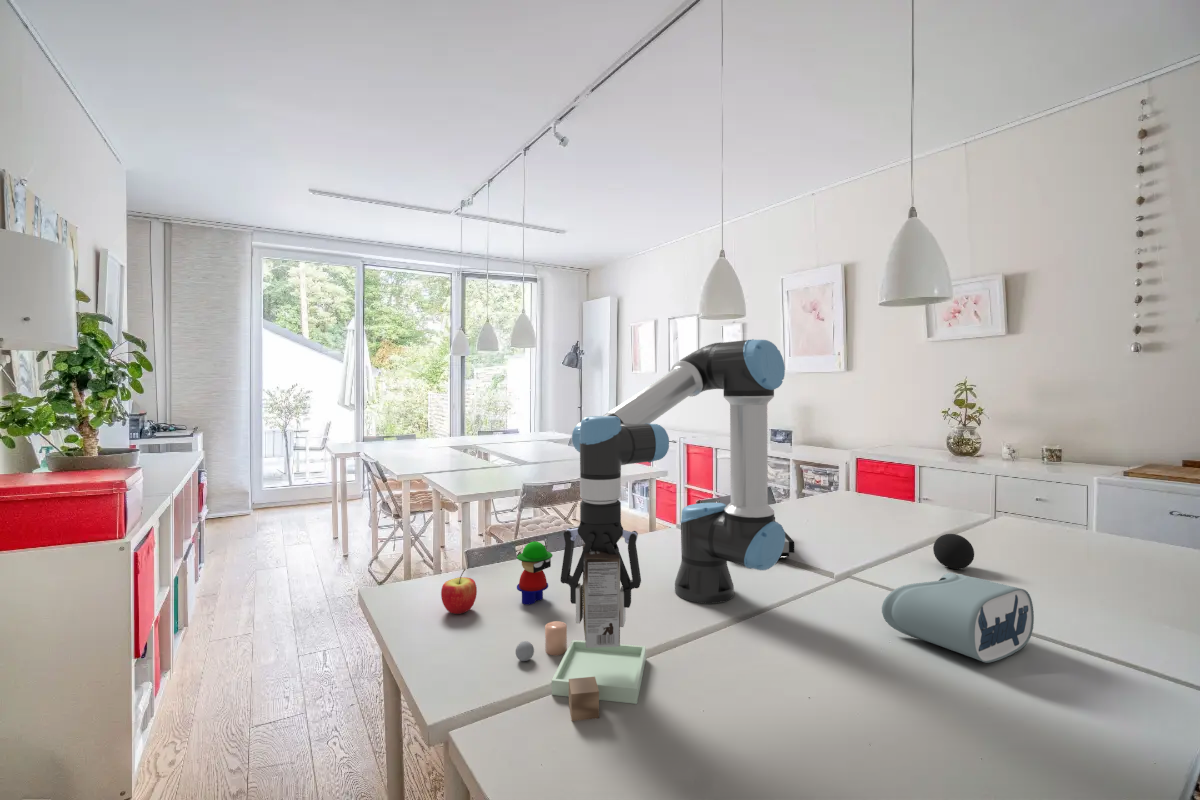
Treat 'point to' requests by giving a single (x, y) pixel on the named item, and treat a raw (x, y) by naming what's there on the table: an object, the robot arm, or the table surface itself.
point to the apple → (459, 594)
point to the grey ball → (524, 651)
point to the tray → (603, 670)
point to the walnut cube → (583, 698)
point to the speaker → (953, 551)
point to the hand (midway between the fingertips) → (600, 621)
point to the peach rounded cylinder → (556, 638)
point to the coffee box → (601, 599)
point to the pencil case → (963, 615)
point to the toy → (533, 572)
